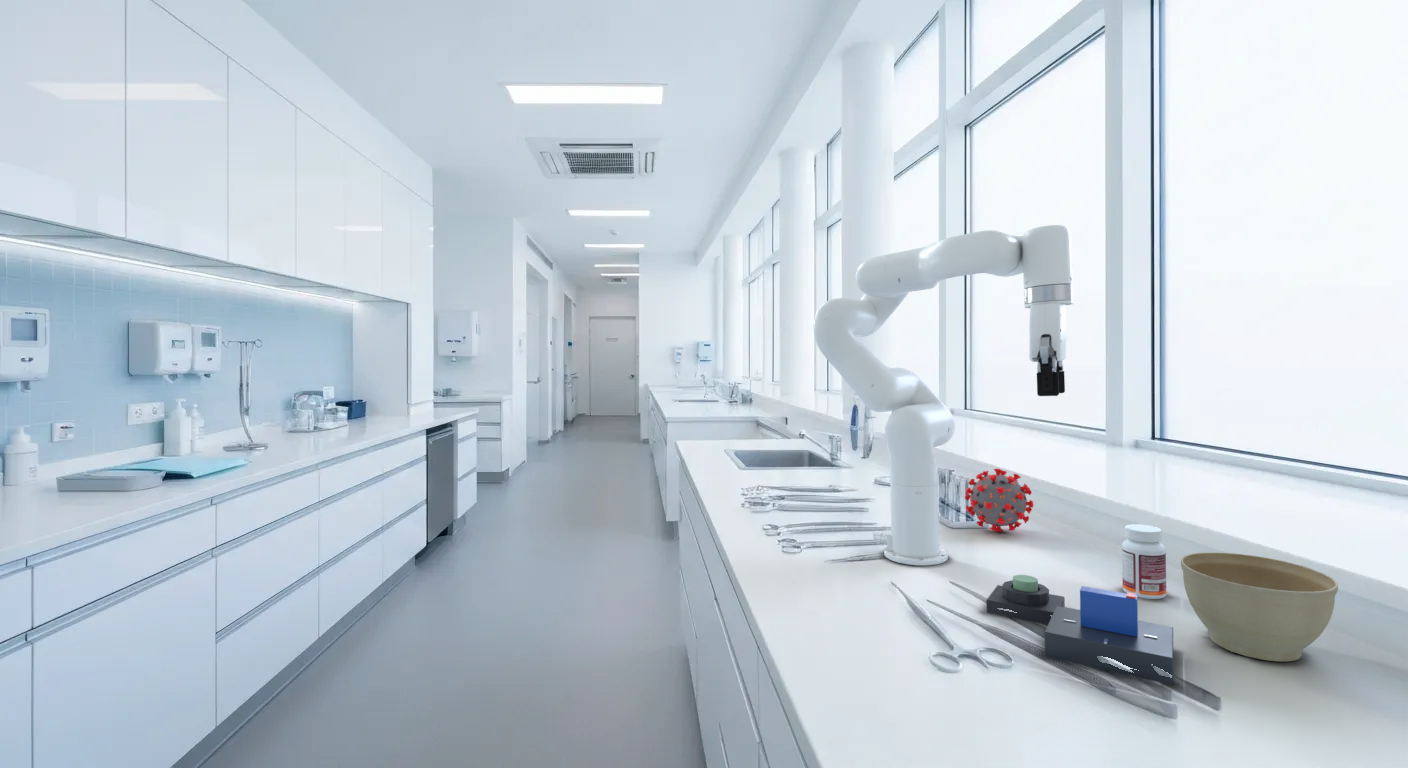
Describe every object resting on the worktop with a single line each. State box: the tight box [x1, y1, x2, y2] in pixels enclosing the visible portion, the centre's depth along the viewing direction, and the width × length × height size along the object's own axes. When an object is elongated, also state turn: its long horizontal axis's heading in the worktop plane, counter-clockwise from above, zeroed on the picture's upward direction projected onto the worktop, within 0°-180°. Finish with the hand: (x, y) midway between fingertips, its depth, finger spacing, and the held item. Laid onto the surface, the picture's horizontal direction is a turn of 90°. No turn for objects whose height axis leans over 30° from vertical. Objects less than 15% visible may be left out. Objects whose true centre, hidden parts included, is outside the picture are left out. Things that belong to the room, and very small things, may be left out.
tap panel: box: [1044, 606, 1174, 686], centre depth 85 cm, size 14×11×4 cm
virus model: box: [964, 468, 1034, 533], centre depth 147 cm, size 14×15×15 cm
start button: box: [1012, 574, 1039, 592], centre depth 100 cm, size 4×4×2 cm
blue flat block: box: [1079, 585, 1139, 637], centre depth 85 cm, size 6×2×5 cm, turn 53°
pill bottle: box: [1121, 523, 1167, 600], centre depth 106 cm, size 6×6×11 cm
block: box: [985, 579, 1066, 626], centre depth 100 cm, size 10×8×4 cm
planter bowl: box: [1180, 551, 1339, 663], centre depth 86 cm, size 16×16×11 cm
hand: (1051, 394), depth 110 cm, fingers open, 9 cm apart
